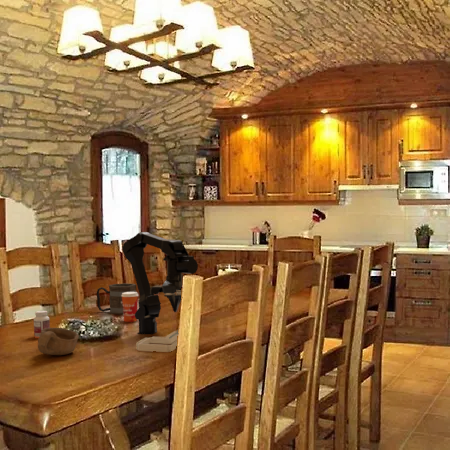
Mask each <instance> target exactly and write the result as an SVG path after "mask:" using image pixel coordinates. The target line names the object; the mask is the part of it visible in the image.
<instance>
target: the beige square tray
mask: <svg viewBox="0 0 450 450" xmlns="http://www.w3.org/2000/svg"><path fill="white" fill-rule="evenodd" d="M135 344H136V345H135V348H136V351H139V352H153V351H156V353H157V352H158V353H169V352H171V351H172V352H173V351H174V350H176V349H177V348H176V346H177V340H175V341H173V342H172V343H169V341H168V340H167V338H166V336H152V337H144V338H141V340H138V341H137V342H136V343H135Z"/></svg>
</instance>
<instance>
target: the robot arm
mask: <svg viewBox="0 0 450 450" xmlns="http://www.w3.org/2000/svg"><path fill="white" fill-rule="evenodd" d="M147 246H152V247H154V248H157V249H159V250H161V252H162V253H163V254H165V255H166V256H165V257H164V258H162V260H163V261H165V262H166V271H167V272H166V273H167V275H166V277H165V281H164V282H163V284H162V285H154V286H153V285H152V286H151V284H150V282H149V278H148V274H147V271H146V267H145V264H144V260H143V258H144V256H145V248H147ZM121 250H122V253H123V255H124V257H125V258H126V259H127V261H128V262H129V263H130V264H131V269H132V272H133V275H134V279H135V283H136V287H137V289H138V292H139V293H138V294H139V298H138V308H137V312H136V313H135V318H136V319H137V320H138V332H137V335H154V334H156V333H157V332H158V322H157V320H156V318H159V316H160V313H161V309H162V308H161V307H162V306H161V304H162V303H161V300H160V297H159V295H158V294H159V293H163V296H164V297H166V298H167V299H168V301H169V302H170V303H169V304H170V305H171V307H172V310H173V313H177V312H178V310H179V306H180V304H181V302H182V299H181V287H182V285H183V278H184V276H183V275H184V274H190V275H191V274H192V275H193V274H195V273H196V272H197V271H198V268H199V264H198V262H197V260H196V259H195V256H194V255H189V252H188V251H187V248H186V247H185V245H184V242H183V241H182V240H181V239H167V238H163V237H162V236H161V237H160V236H158V235H155V234H152V233H150V232H147V231H143V232H142V231H141V232H140V231H139V232H138V233H137V234H136V235H134V236H133V237H131V238H130V239H128V240H126V241H124V242H123V244H122V249H121ZM182 288H183V287H182Z"/></svg>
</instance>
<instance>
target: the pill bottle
mask: <svg viewBox="0 0 450 450" xmlns="http://www.w3.org/2000/svg"><path fill="white" fill-rule="evenodd" d="M34 314H35V317H34V318H33V334H34V335H33V336H34V338H35V339H39V336H40V334H41V330H42V329H44V328H51V326H50V325H51V323H50V322H51V321H50V317H49V316H48V311H47V310H38V311H35V313H34Z"/></svg>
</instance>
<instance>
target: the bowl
mask: <svg viewBox="0 0 450 450" xmlns="http://www.w3.org/2000/svg"><path fill="white" fill-rule="evenodd" d="M79 338H80V335H79V333H77V332H76V331H74V330H71V329H66V328H63V327H62V328H61V327H50V328H44V329H42V330H41V334H40V336H39V338H37V351H39V352H40V353H41V354H44V355H49V356H51V355H52V356H65V355H68V354H71V353H72V352H74V351H75V349H76V348H77V343H78V340H79Z"/></svg>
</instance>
